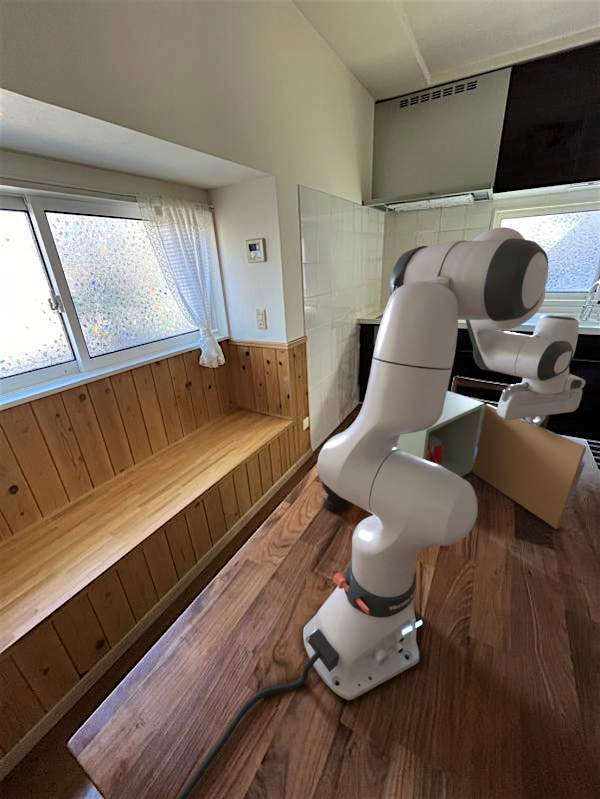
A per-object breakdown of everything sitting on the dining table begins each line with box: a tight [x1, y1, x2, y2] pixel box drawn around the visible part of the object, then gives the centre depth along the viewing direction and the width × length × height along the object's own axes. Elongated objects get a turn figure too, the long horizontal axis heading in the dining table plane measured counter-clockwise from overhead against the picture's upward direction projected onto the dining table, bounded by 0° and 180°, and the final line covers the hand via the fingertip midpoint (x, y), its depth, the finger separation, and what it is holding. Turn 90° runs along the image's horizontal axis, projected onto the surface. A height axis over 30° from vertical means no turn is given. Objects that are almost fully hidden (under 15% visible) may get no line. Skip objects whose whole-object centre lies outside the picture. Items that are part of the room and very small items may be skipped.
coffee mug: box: [320, 480, 349, 513], centre depth 97 cm, size 12×9×10 cm
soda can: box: [426, 436, 443, 465], centre depth 105 cm, size 7×7×12 cm
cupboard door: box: [472, 403, 587, 530], centre depth 93 cm, size 7×26×24 cm, turn 21°
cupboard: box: [397, 390, 485, 478], centre depth 104 cm, size 18×26×24 cm
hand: (531, 429), depth 89 cm, fingers closed
